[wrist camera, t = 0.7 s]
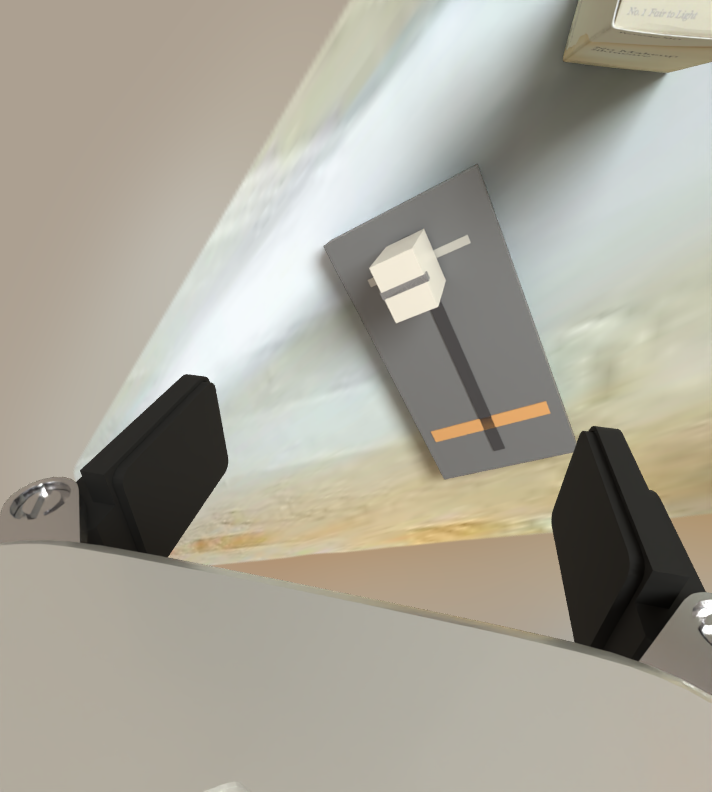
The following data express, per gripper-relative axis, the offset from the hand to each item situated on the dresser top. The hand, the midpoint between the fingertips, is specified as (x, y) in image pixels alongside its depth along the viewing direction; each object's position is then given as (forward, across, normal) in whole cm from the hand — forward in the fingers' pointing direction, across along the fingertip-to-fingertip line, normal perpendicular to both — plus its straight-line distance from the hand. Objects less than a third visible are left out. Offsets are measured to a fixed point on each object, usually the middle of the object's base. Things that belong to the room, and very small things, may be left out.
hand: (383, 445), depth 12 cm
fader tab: (+24, +1, +2) cm, 24 cm away
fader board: (+26, -3, +9) cm, 28 cm away
